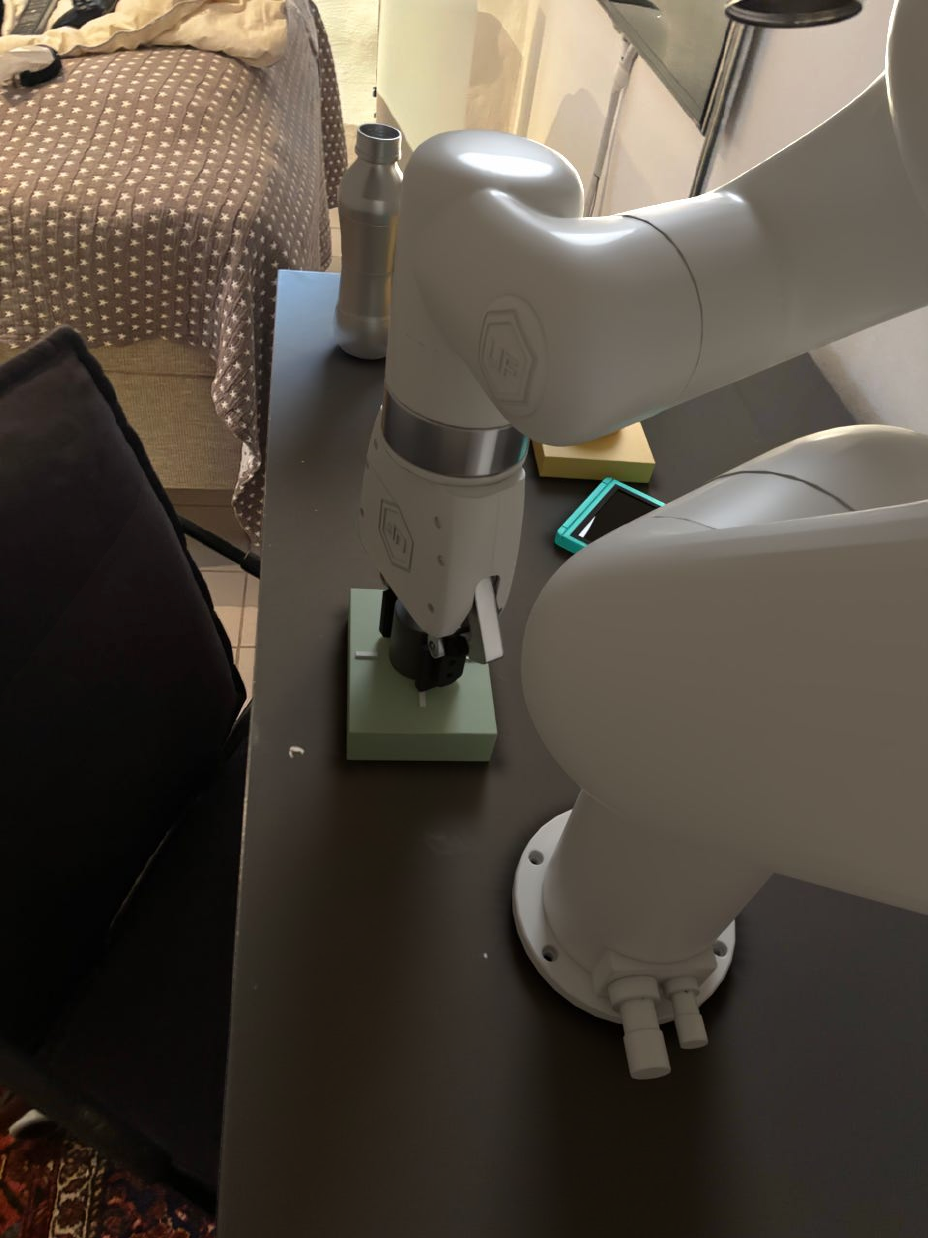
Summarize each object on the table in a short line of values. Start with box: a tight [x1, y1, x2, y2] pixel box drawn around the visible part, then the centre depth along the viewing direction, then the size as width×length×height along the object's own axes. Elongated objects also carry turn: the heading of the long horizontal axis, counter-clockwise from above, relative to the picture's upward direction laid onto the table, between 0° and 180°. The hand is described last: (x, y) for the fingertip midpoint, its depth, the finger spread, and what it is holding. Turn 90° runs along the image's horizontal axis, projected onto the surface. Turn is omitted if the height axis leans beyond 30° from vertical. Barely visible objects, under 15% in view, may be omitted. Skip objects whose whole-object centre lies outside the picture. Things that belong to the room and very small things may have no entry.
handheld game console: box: [554, 477, 667, 555], centre depth 71 cm, size 10×16×1 cm, turn 58°
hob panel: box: [346, 588, 498, 762], centre depth 58 cm, size 12×9×3 cm
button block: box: [531, 421, 656, 484], centre depth 80 cm, size 13×10×4 cm
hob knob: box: [389, 598, 428, 679], centre depth 55 cm, size 4×4×5 cm
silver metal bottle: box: [332, 122, 403, 360], centre depth 79 cm, size 6×7×20 cm
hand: (419, 653), depth 56 cm, fingers open, 4 cm apart
